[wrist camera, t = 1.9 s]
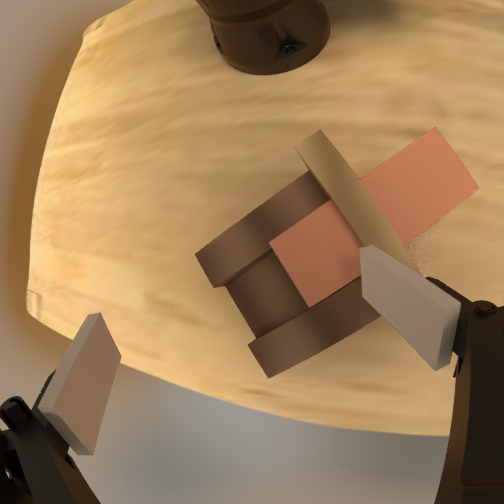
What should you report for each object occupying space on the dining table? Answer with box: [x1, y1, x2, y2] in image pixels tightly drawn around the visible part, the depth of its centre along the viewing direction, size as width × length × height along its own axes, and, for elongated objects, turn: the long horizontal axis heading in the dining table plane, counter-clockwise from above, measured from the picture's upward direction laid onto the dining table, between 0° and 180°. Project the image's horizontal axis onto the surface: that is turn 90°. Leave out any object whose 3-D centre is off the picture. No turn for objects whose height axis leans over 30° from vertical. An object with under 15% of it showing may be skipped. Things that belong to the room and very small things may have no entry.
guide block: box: [195, 130, 423, 378], centre depth 25 cm, size 14×12×14 cm
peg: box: [269, 127, 479, 308], centre depth 21 cm, size 14×5×6 cm, turn 122°
